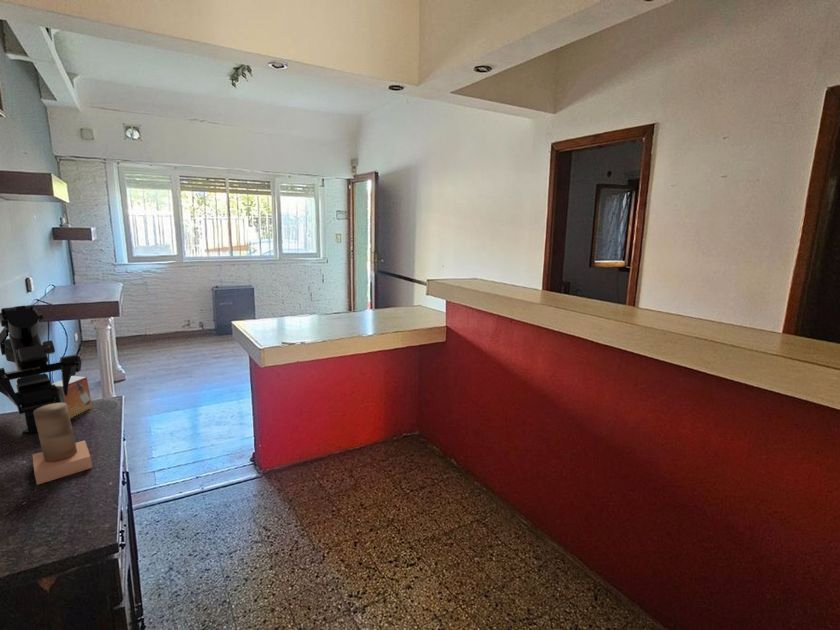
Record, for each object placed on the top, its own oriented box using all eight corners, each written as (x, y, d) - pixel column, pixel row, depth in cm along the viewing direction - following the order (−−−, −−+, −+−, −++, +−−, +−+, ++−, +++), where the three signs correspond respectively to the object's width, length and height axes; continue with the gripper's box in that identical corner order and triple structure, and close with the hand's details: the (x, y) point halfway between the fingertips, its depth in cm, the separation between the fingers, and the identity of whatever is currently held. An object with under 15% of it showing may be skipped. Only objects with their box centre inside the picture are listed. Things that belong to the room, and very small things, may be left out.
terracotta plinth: (34, 466, 104) (32, 454, 103) (86, 451, 111) (84, 440, 110) (37, 484, 97) (34, 472, 96) (92, 467, 103) (90, 456, 103)
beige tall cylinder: (54, 449, 105) (44, 403, 103) (82, 447, 106) (72, 401, 104) (38, 463, 100) (26, 415, 97) (67, 460, 101) (56, 412, 98)
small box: (68, 420, 127) (61, 386, 125) (52, 418, 128) (45, 385, 126) (93, 408, 135) (87, 376, 132) (78, 407, 136) (71, 375, 133)
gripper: (-27, 339, 102) (-12, 398, 97) (73, 325, 115) (90, 376, 111) (-22, 362, 109) (-8, 418, 104) (72, 346, 122) (88, 394, 118)
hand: (43, 400), depth 109 cm, fingers open, 9 cm apart
